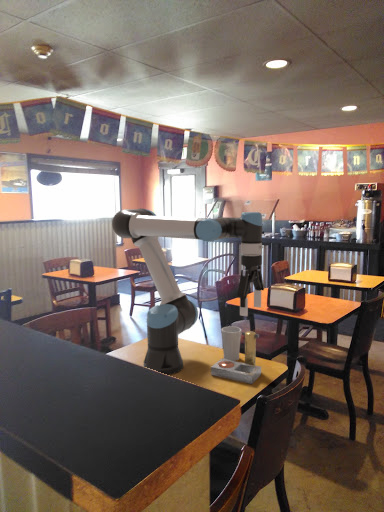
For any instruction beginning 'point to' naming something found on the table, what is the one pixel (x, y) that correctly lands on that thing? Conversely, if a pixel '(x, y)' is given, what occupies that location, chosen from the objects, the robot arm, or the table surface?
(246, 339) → the brass cylinder with tabs
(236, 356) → the cup
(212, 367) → the plate with copper dome
